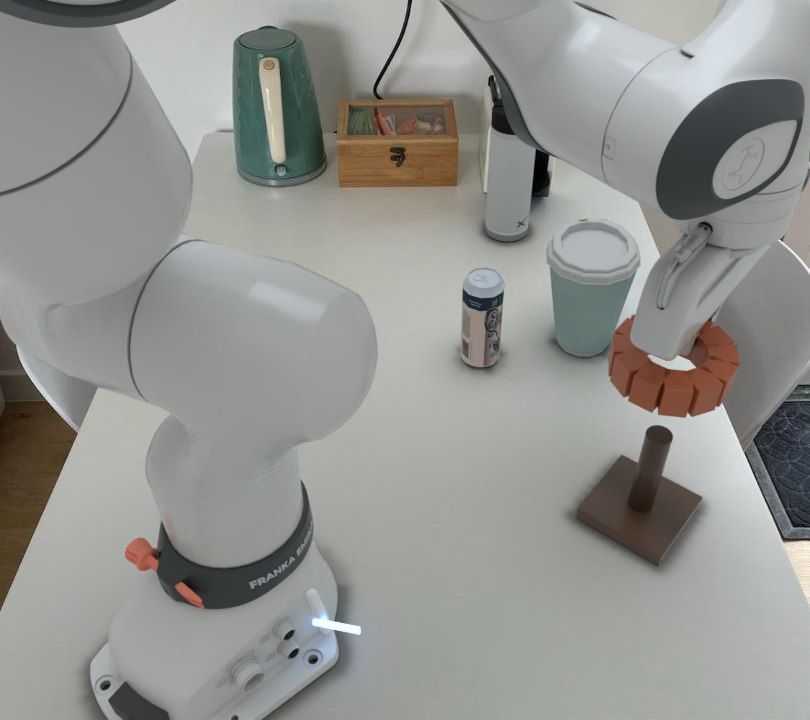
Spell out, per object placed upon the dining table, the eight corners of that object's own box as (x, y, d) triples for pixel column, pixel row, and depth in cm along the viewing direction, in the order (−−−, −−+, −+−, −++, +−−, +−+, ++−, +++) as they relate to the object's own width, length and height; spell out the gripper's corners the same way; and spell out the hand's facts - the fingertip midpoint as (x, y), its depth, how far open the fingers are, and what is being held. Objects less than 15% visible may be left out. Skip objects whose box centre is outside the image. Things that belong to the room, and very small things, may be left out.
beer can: (496, 372, 97) (502, 292, 89) (457, 367, 98) (459, 288, 89) (501, 346, 100) (507, 267, 92) (463, 341, 101) (466, 263, 93)
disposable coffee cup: (636, 364, 97) (659, 262, 87) (549, 375, 96) (562, 273, 86) (606, 309, 105) (625, 210, 95) (525, 319, 104) (536, 219, 94)
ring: (697, 436, 64) (705, 410, 62) (586, 380, 69) (590, 354, 67) (749, 367, 69) (759, 341, 67) (643, 320, 74) (649, 294, 72)
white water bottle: (532, 242, 117) (545, 111, 103) (486, 242, 117) (493, 111, 103) (527, 218, 121) (540, 90, 108) (483, 219, 122) (490, 90, 108)
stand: (658, 566, 77) (683, 489, 69) (575, 517, 81) (590, 440, 73) (699, 506, 82) (727, 428, 74) (619, 463, 86) (638, 385, 78)
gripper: (712, 279, 53) (670, 423, 63) (822, 156, 65) (773, 293, 74) (625, 246, 56) (598, 387, 66) (745, 134, 68) (707, 268, 77)
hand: (691, 336), depth 70 cm, fingers closed on ring, 2 cm apart
